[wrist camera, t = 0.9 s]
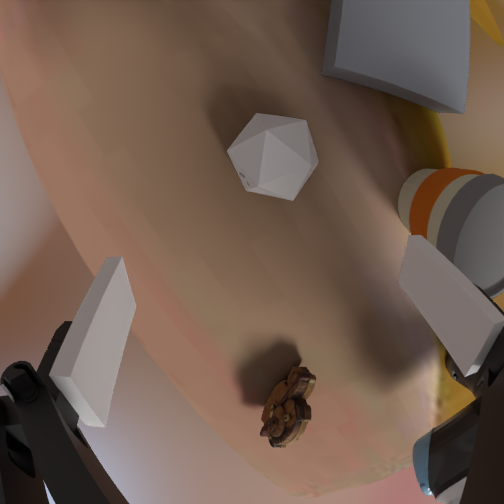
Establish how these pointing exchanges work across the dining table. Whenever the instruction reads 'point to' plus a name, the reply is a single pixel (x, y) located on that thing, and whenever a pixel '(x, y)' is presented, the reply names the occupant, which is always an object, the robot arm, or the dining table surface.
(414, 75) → the slate block
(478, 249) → the reusable coffee cup
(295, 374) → the wooden carving
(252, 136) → the die
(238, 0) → the dining table surface
